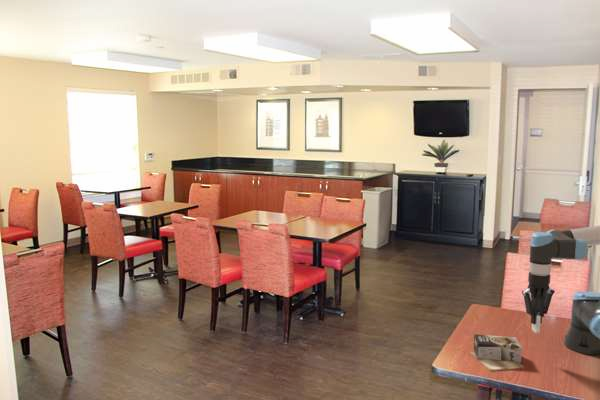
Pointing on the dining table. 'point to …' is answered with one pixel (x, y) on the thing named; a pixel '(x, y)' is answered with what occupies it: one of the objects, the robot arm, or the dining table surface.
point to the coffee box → (497, 348)
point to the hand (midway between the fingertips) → (535, 331)
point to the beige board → (497, 364)
